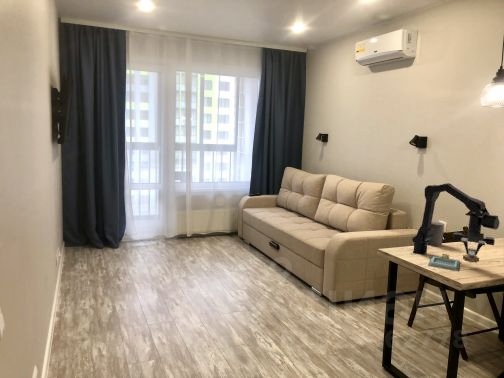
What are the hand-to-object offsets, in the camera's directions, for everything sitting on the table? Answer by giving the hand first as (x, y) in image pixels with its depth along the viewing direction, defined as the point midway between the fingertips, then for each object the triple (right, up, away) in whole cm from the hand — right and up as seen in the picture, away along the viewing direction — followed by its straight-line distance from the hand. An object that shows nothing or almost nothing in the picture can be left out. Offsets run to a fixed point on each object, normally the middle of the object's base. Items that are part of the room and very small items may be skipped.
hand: (471, 254), depth 212 cm
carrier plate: (-12, -6, +6) cm, 14 cm away
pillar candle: (-1, -1, +43) cm, 43 cm away
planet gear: (0, -3, 0) cm, 3 cm away
